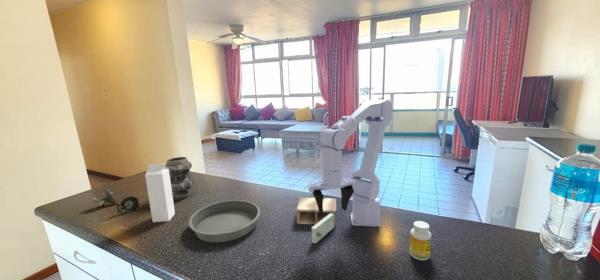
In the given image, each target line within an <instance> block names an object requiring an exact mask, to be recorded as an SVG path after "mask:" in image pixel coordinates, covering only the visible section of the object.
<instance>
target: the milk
mask: <svg viewBox="0 0 600 280" xmlns="http://www.w3.org/2000/svg"><path fill="white" fill-rule="evenodd" d="M165 165H166V164H165V163H164V162H163V163H148V164H147V169H146V173H145V174H144V177H145V182H146V189H147V195H148V201H149V208H150V214H151V219H152V223H161V222H170V221H171V219H172V218H173V217H174V215H175V214H176V212H175V205H174V204H175V203H174V199H173V196H172V194H173V192H172V189H171V182H170V174H169V169H167V168H166V167H165Z"/></svg>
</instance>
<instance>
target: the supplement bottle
mask: <svg viewBox="0 0 600 280" xmlns="http://www.w3.org/2000/svg"><path fill="white" fill-rule="evenodd" d="M412 227H413V228H411V230H410V232H409V233H410V234H409V236H410V237H409V246H408V247H409V254H410V256H411V257H412V258H414V259H416V260H419V261H427V260H429V259H430V257H431V247H432V244H431V243H432V233H431V232H430V225H429V223H427V222H426V221H423V220H416V221H413V226H412Z"/></svg>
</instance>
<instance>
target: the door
mask: <svg viewBox="0 0 600 280" xmlns="http://www.w3.org/2000/svg"><path fill="white" fill-rule="evenodd" d="M335 226H336V225H335V211H332V214H331V213H330V214H329V215H327V216H326V217H325V218H323V219H322V220H321V221H319V222H318V223H317V224H313V226H311V243H313V244H315V245H316V244H317V243H318V242H319V241H320V240H321V239H323V238H324V237H326V235H328V233H330V231H332V230H333V229H334V228H335Z"/></svg>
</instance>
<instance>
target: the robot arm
mask: <svg viewBox="0 0 600 280" xmlns="http://www.w3.org/2000/svg"><path fill="white" fill-rule="evenodd" d="M393 110H394V109H393V105H392V102H391V100H390V99H363V100H362V101H360V102H359V106H358V108H357V109H356V110H355V111H353V113H352V114H351V115H343V116H342V117H340V119H339V120H338V121H337V122H336V123H334V124H332V125H331V127H329V128H324V129H322V130H321V131H320V132H319V135H318V138H317V143H318V145H319V148H320V152H321V157H322V160H321V162H322V180H321V181H317V182H313V183H308V192H309V193H311V194H312V195H313V198H315V200H316V202H317V206H318V210H319V213H320V214H323V198H325V197H324V194H323V192H322V191H327V190H335V189H337V190H338V189H340V192H341V193H340V195H341V199H340V200H341V203H340V204H341V206H340V207H341V208H342V209H343V211H347V209H348V205H349V202H350V199H351V197H352V213H350V219H351V220H350V221H351V225H352V226H356V227H378V228H380V226H381V225H380V222H381V220H380V219H381V203H380V199H379V197H378V196H379V195H380V185H381V184H380V183H381V180H380V178H379V177H378V175H376V173H375V171H376V167H377V163H378V160H379V155H380V151H381V147H382V144H383V140H384V137H385V132H386V129H387V127H388V126H390V122H391V119H392V116H393V112H394V111H393ZM363 121H364V122H365V124H366V125H368V126H369V127H370V128H369V131H368V136H367V140H366V144H365V148H364V151H363V155H362V159H361V161H360V167H359V169H357V170H356V171H354V172H352V174H351V177H350V179H349V178H347V179H345V178H343V177H342V176H343V168H342V167H343V158H342V157H343V154H342V153H343V149H344V148H345V147H346V144H347V141H348V139H349V137H351V135H353V134H354V133H355V132H356V131H357V130H358V125H359V124H360V123H362V122H363ZM342 178H343V179H342Z"/></svg>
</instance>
